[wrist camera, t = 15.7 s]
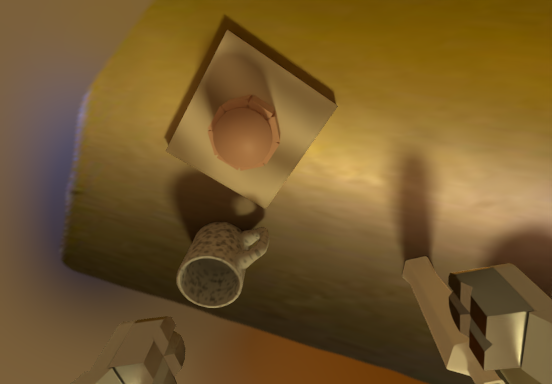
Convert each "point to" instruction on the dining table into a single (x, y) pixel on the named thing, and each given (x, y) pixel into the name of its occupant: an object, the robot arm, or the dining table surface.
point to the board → (268, 87)
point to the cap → (245, 132)
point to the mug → (219, 263)
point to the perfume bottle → (444, 321)
